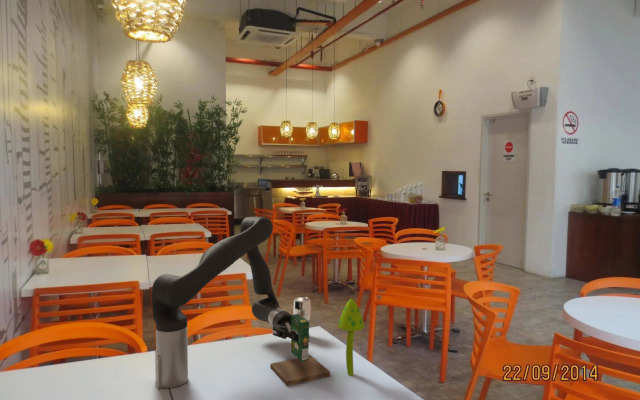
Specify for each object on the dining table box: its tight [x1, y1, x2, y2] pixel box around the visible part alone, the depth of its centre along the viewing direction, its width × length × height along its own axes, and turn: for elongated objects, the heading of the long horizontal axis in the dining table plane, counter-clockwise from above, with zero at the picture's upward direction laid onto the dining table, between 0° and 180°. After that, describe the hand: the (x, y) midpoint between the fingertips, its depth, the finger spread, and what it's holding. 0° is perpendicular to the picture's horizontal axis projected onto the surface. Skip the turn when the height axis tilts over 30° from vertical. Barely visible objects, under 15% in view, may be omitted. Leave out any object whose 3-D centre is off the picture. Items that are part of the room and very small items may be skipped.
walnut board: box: [269, 355, 331, 387], centre depth 142 cm, size 15×14×2 cm
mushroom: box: [337, 298, 365, 377], centre depth 140 cm, size 8×8×25 cm
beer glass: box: [292, 296, 312, 337], centre depth 173 cm, size 7×7×15 cm
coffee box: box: [290, 314, 310, 362], centre depth 142 cm, size 8×3×13 cm, turn 29°
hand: (302, 337), depth 140 cm, fingers closed on coffee box, 3 cm apart
